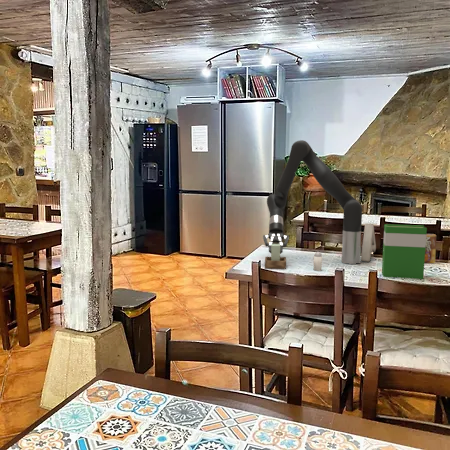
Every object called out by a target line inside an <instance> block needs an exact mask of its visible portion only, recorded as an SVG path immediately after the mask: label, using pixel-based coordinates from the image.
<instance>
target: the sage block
mask: <svg viewBox="0 0 450 450" xmlns="http://www.w3.org/2000/svg"><path fill="white" fill-rule="evenodd" d="M270 254H271V255H270V257H271V261H280V257H281V254H280V244H279V243H273V244H271V253H270Z"/></svg>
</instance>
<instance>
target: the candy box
mask: <svg viewBox="0 0 450 450" xmlns="http://www.w3.org/2000/svg"><path fill="white" fill-rule="evenodd" d="M436 247H437V235H436V234H434V233H427V234H426V248H425V262H424V264H435V263H436V249H437V248H436Z"/></svg>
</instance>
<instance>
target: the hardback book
mask: <svg viewBox="0 0 450 450" xmlns="http://www.w3.org/2000/svg"><path fill="white" fill-rule="evenodd" d="M383 229H384V230H383V245H382V258H381V259H382V261H381V274H382V277H384V278H398V279H399V278H400V279H415V280H418V279H419V280H424V274H425V273H424V272H425V263H424V262H425V248H426V234H428V233H427V231H428V228H427V227H425V225H414V224H413V225H412V224H388V223H387V224H384V226H383Z"/></svg>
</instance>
